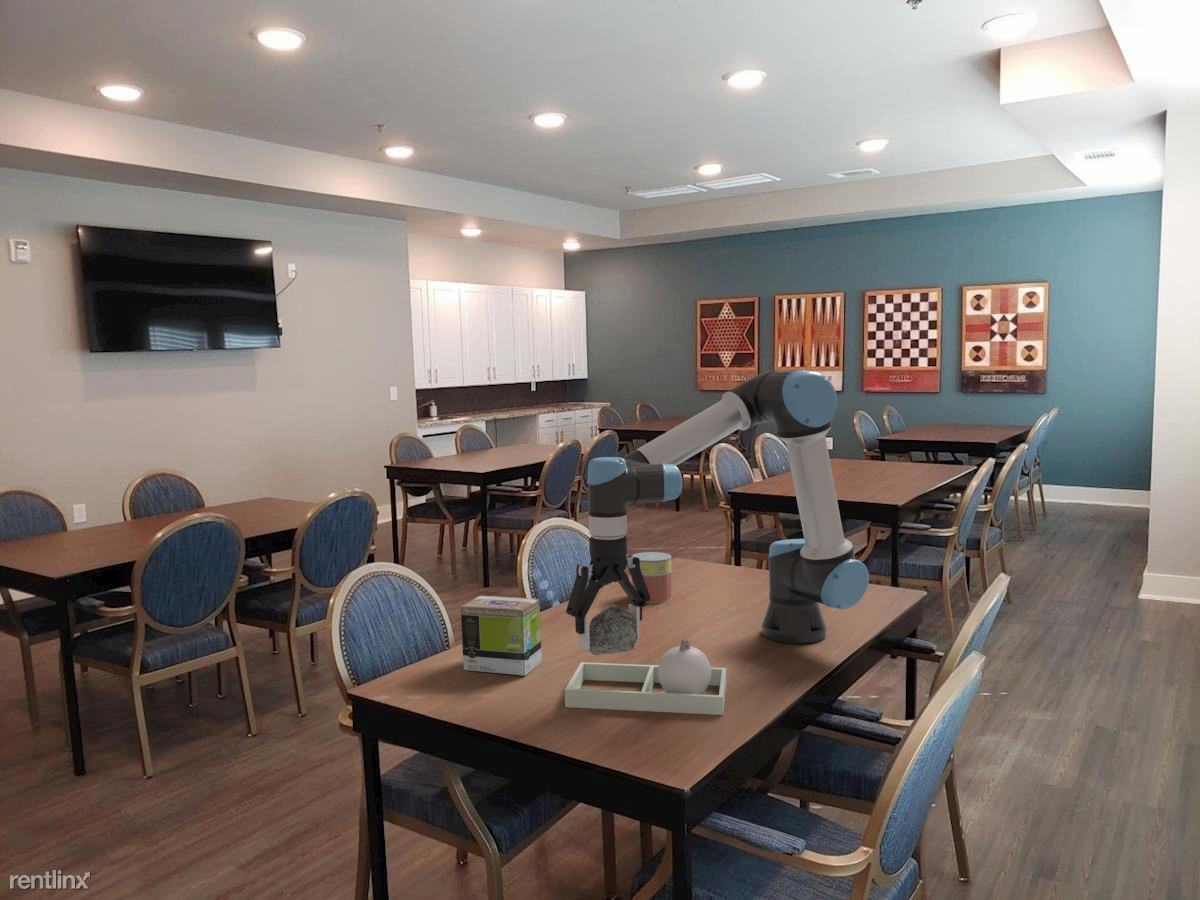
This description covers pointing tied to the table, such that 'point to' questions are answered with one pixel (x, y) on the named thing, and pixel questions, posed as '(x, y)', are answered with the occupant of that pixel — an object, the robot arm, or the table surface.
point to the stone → (612, 631)
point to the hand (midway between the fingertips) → (610, 643)
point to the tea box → (501, 635)
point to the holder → (645, 697)
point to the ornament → (684, 670)
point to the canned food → (656, 575)
